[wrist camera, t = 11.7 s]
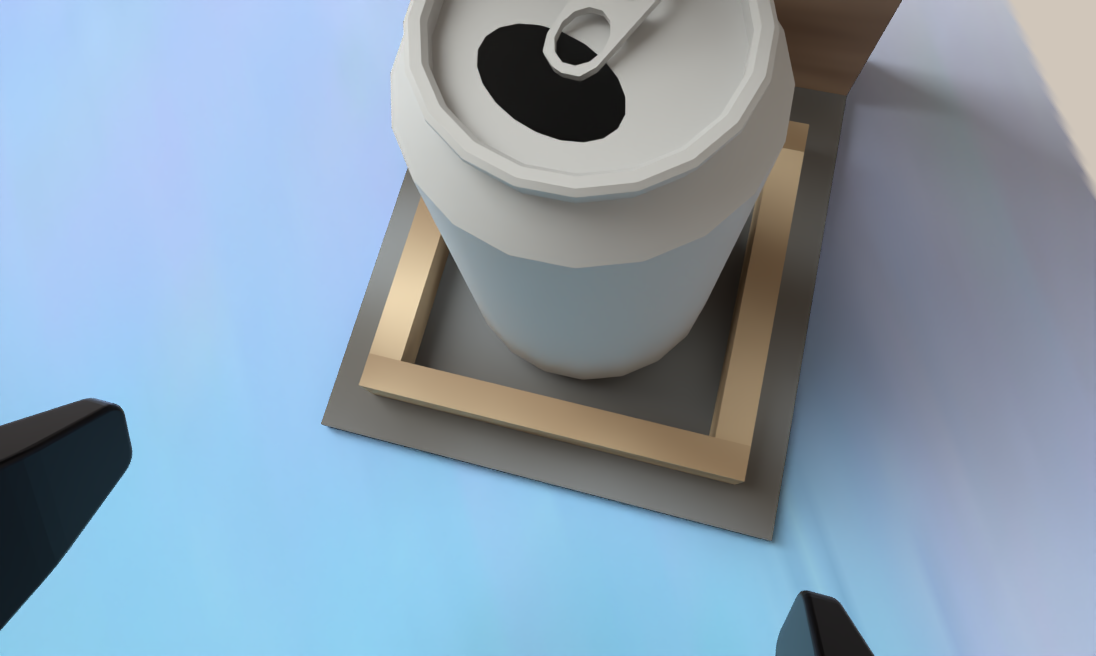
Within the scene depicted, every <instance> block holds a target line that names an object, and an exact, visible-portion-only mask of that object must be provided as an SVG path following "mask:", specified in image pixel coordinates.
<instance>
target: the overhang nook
mask: <svg viewBox="0 0 1096 656" xmlns="http://www.w3.org/2000/svg"><path fill="white" fill-rule="evenodd" d="M901 1H902V0H774V4H775V9H776V14H777V19H778V21H779V23H780V24H781V26H782V28H783V29H784V33H785V37H786V42H787V47H788V52H789V57H790V62H791V67H792V72H793V76H794V81H795V88H794V94H793V100H792V106H791V112H790V118H789V124H788V130H787V136H786V141H785V143H784V145H783V147H782V149H781V152H780V154H779V156H778V158H777V160H776V162H775V164H774V166H773V168H772V170H771V172H770V174H769V176H768V178H767V180H766V182H765V184H764V186H763V188H762V190H761V192H760V194H759V196H758V198H757V200H756V202H755V204H754V206H753V208H752V210H751V212H750V215H749V217H748V219H747V221H746V223H745V225H744V227H743V229H742V231H741V233H740V235H739V237H738V239H737V241H736V243H735V245H734V247H733V249H732V251H731V253H730V255H729V257H728V259H727V261H726V263H725V265H724V267H723V269H722V271H721V273H720V276H719V278H718V280H717V282H716V284H715V286H714V288H713V290H712V292H711V294H710V296H709V298H708V300H707V302H706V304H705V306H704V307H703V309H702V311H701V313H700V314H699V316H698V318H697V320H696V321H695V323H694V325H693V326H692V328H691V330H690V332H689V333H688V335H687V336H686V337H685V338H684V339H683V340H682V341H681V342H679V343H678V344H677V345H676V346H675V347H674V348H673V349H671V350H670V351H669V352H668V353H667V354H666V355H665V356H663V357H662V358H661V359H660V360H659V361H657V362H655V363H652V364H650V365H648V366H645V367H643V368H641V369H638V370H636V371H633V372H631V373H629V374H626V375H624V376H619V377H608V378H598V379H587V380H581V379H577V378H572V377H568V376H563V375H559V374H554V373H550V372H545V371H543V370H542V369H540V368H538V367H536V366H535V365H533V364H531V363H530V362H528V361H526V360H524V359H523V358H521V357H519V356H518V355H516V354H514V353H512V352H511V351H510V349H509V348H508V347H507V346H506V345H505V344H504V343H503V341H502V340H501V339H500V338H499V337H498V336H497V335H496V333H495V332H494V331H493V330H492V329H491V328H490V327H489V325H488V324H487V322H486V320H485V318H484V317H483V315H482V313H481V311H480V309H479V307H478V305H477V303H476V301H475V299H474V297H473V295H472V293H471V291H470V289H469V287H468V286H467V284H466V282H465V280H464V278H463V276H462V274H461V272H460V270H459V268H458V266H457V264H456V262H455V260H454V258H453V257H452V255H451V253H450V251H449V249H448V247H447V245H446V243H445V241H444V239H443V237H442V235H441V233H440V231H439V229H438V227H437V226H436V224H435V222H434V220H433V218H432V216H431V214H430V212H429V210H428V208H427V206H426V204H425V202H424V200H423V198H422V197H421V195H420V193H419V191H418V189H417V187H416V185H415V183H414V181H413V179H412V176H411V174H410V172H409V169H407V172H406V174H405V177H404V180H403V183H402V186H401V189H400V192H399V195H398V198H397V201H396V204H395V207H394V210H393V213H392V216H391V219H390V222H389V225H388V228H387V231H386V233H385V236H384V239H383V242H382V245H381V248H380V251H379V254H378V257H377V260H376V263H375V266H374V269H373V272H372V275H371V278H370V281H369V284H368V287H367V290H366V292H365V295H364V298H363V301H362V304H361V307H360V310H359V313H358V316H357V319H356V322H355V325H354V328H353V331H352V334H351V337H350V340H349V343H348V346H347V349H346V352H345V354H344V357H343V360H342V363H341V366H340V369H339V372H338V375H337V378H336V381H335V384H334V387H333V390H332V393H331V396H330V399H329V402H328V405H327V408H326V411H325V413H324V416H323V419H322V422H321V424H322V425H325V426H329V427H332V428H336V429H340V430H344V431H348V432H352V433H356V434H359V435H363V436H367V437H371V438H375V439H379V440H383V441H386V442H390V443H394V444H398V445H402V446H406V447H409V448H413V449H417V450H421V451H425V452H429V453H433V454H436V455H440V456H444V457H448V458H452V459H456V460H460V461H463V462H467V463H471V464H475V465H479V466H483V467H487V468H490V469H494V470H498V471H502V472H506V473H510V474H514V475H517V476H521V477H525V478H529V479H533V480H537V481H540V482H544V483H548V484H552V485H556V486H560V487H564V488H567V489H571V490H575V491H579V492H583V493H587V494H591V495H594V496H598V497H602V498H606V499H610V500H614V501H618V502H621V503H625V504H629V505H633V506H637V507H641V508H645V509H648V510H652V511H656V512H660V513H664V514H668V515H672V516H675V517H679V518H683V519H687V520H691V521H695V522H698V523H702V524H706V525H710V526H714V527H718V528H722V529H725V530H729V531H733V532H737V533H741V534H745V535H749V536H752V537H756V538H760V539H764V540H768V541H772V536H773V530H774V524H775V518H776V512H777V506H778V500H779V494H780V488H781V482H782V477H783V471H784V465H785V459H786V453H787V447H788V441H789V435H790V429H791V423H792V417H793V411H794V405H795V399H796V393H797V387H798V382H799V376H800V370H801V364H802V358H803V352H804V346H805V340H806V334H807V328H808V322H809V316H810V310H811V304H812V298H813V292H814V287H815V281H816V275H817V269H818V263H819V257H820V251H821V245H822V239H823V233H824V227H825V221H826V215H827V209H828V203H829V197H830V192H831V186H832V180H833V174H834V168H835V162H836V156H837V150H838V144H839V138H840V132H841V126H842V120H843V114H844V108H845V102H846V97H847V94H848V93H849V91H850V89H851V87H852V86H853V84H854V82H855V80H856V79H857V77H858V75H859V74H860V72H861V70H862V68H863V67H864V65H865V63H866V62H867V60H868V58H869V56H870V55H871V53H872V51H873V50H874V48H875V46H876V44H877V43H878V41H879V39H880V38H881V36H882V34H883V32H884V31H885V29H886V27H887V25H888V24H889V22H890V20H891V19H892V17H893V15H894V13H895V12H896V10H897V8H898V7H899V5H900V3H901Z"/></svg>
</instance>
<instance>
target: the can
mask: <svg viewBox="0 0 1096 656" xmlns="http://www.w3.org/2000/svg"><path fill="white" fill-rule="evenodd" d="M403 28H404V35H403V38H402V41H401V44H400V47H399V49H398V52H397V55H396V58H395V61H394V64H393V67H392V70H391V116H392V129H393V132H394V134H395V137H396V139H397V142H398V144H399V147H400V149H401V152H402V154H403V157H404V159H405V162H406V164H407V167H408V169H409V172H410V174H411V176H412V179H413V181H414V183H415V185H416V187H417V189H418V191H419V193H420V195H421V197H422V198H423V200H424V202H425V204H426V206H427V208H428V210H429V212H430V214H431V216H432V218H433V220H434V222H435V224H436V226H437V227H438V229H439V231H440V233H441V235H442V237H443V239H444V241H445V243H446V245H447V247H448V249H449V251H450V253H451V255H452V257H453V258H454V260H455V262H456V264H457V266H458V268H459V270H460V272H461V274H462V276H463V278H464V280H465V282H466V284H467V286H468V287H469V289H470V291H471V293H472V295H473V297H474V299H475V301H476V303H477V305H478V307H479V309H480V311H481V313H482V315H483V317H484V318H485V320H486V322H487V324H488V325H489V327H490V328H491V329H492V330H493V331H494V332H495V333H496V335H497V336H498V337H499V338H500V339H501V340H502V341H503V343H504V344H505V345H506V346H507V347H508V348H509V349H510V351H511V352H512V353H514V354H516V355H518V356H519V357H521V358H523V359H524V360H526V361H528V362H530V363H531V364H533V365H535V366H536V367H538V368H540V369H542V370H543V371H545V372H550V373H554V374H559V375H563V376H568V377H572V378H577V379H581V380H587V379H598V378H608V377H619V376H624V375H626V374H629V373H631V372H633V371H636V370H638V369H641V368H643V367H645V366H648V365H650V364H652V363H655V362H657V361H659V360H660V359H661V358H662V357H663V356H665V355H666V354H667V353H668V352H669V351H670V350H671V349H673V348H674V347H675V346H676V345H677V344H678V343H679V342H681V341H682V340H683V339H684V338H685V337H686V336H687V335H688V333H689V332H690V330H691V328H692V326H693V325H694V323H695V321H696V320H697V318H698V316H699V314H700V313H701V311H702V309H703V307H704V306H705V304H706V302H707V300H708V298H709V296H710V294H711V292H712V290H713V288H714V286H715V284H716V282H717V280H718V278H719V276H720V273H721V271H722V269H723V267H724V265H725V263H726V261H727V259H728V257H729V255H730V253H731V251H732V249H733V247H734V245H735V243H736V241H737V239H738V237H739V235H740V233H741V231H742V229H743V227H744V225H745V223H746V221H747V219H748V217H749V215H750V212H751V210H752V208H753V206H754V204H755V202H756V200H757V198H758V196H759V194H760V192H761V190H762V188H763V186H764V184H765V182H766V180H767V178H768V176H769V174H770V172H771V170H772V168H773V166H774V164H775V162H776V160H777V158H778V156H779V154H780V152H781V149H782V147H783V145H784V143H785V141H786V136H787V130H788V124H789V118H790V112H791V106H792V100H793V94H794V88H795V81H794V76H793V72H792V67H791V62H790V57H789V52H788V47H787V42H786V37H785V33H784V29H783V28H782V26H781V24H780V23H779V21H778V19H777V14H776V9H775V4H774V0H411V1H410V4H409V7H408V10H407V13H406V16H405V18H404V21H403Z"/></svg>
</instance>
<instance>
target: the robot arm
mask: <svg viewBox="0 0 1096 656" xmlns="http://www.w3.org/2000/svg"><path fill="white" fill-rule="evenodd" d="M131 458H132V446H131V441H130V437H129V432H128V427H127V423H126V418H125V414H124V411H123V409H122V408H121V407H120V406H119V405H117V404H114V403H110V402H106V401H103V400H99V399H95V398H87V399H83V400H80V401H76V402H73V403H70V404H67V405H64V406H61V407H58V408H54V409H51V410H48V411H45V412H42V413H39V414H36V415H33V416H29V417H26V418H23V419H20V420H17V421H14V422H11V423H7V424H4V425H1V426H0V631H1V629H2V628H3V627H4V626H5V625H6V624H7V623H8V621H9V620H10V619H11V618H12V617H13V616H14V614H15V613H16V612H17V611H18V610H19V609H20V608H21V606H22V605H23V604H24V603H25V602H26V601H27V600H28V598H29V597H30V596H31V595H32V594H33V593H34V592H35V590H36V589H37V588H38V587H39V586H40V585H41V584H42V582H43V581H44V580H45V579H46V578H47V577H48V575H49V574H50V573H51V572H52V571H53V569H54V568H55V567H56V566H57V565H58V563H59V562H60V561H61V559H62V558H63V557H64V555H65V554H66V553H67V551H68V550H69V549H70V547H71V546H72V545H73V543H74V542H75V541H76V539H77V538H78V536H79V535H80V534H81V532H82V531H83V530H84V528H85V527H86V525H87V524H88V523H89V521H90V520H91V518H92V517H93V516H94V514H95V513H96V512H97V510H98V509H99V507H100V506H101V505H102V503H103V502H104V500H105V499H106V498H107V496H108V495H109V494H110V492H111V491H112V489H113V488H114V487H115V485H116V484H117V482H118V481H119V480H120V478H121V477H122V476H123V474H124V473H125V471H126V470H127V468H128V466H129V464H130V462H131ZM775 656H874V654H873V653H872V651H871V650H870V648H869V647H868V645H867V644H866V642H865V640H864V639H863V637H862V636H861V634H860V633H859V631H858V630H857V628H856V626H855V625H854V623H853V622H852V620H851V619H850V617H849V616H848V614H847V612H846V611H845V609H844V608H843V606H842V605H841V604H840V602H838V601H837V600H836V599H835V598H833V597H830V596H826V595H822V594H818V593H815V592H811V591H801V592H800V593H799V594H798V595H797V597H796V599H795V601H794V603H793V605H792V607H791V610H790V612H789V614H788V616H787V618H786V620H785V622H784V624H783V626H782V628H781V631H780V633H779V636H778V640H777V645H776V655H775Z"/></svg>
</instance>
